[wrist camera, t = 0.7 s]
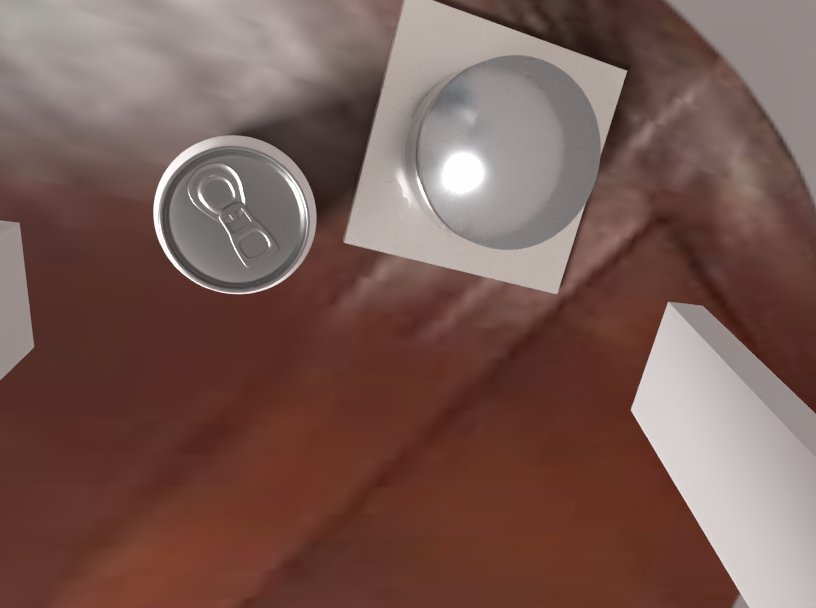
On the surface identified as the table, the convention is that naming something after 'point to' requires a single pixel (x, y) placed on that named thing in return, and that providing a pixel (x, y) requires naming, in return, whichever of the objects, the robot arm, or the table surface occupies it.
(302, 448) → the table surface
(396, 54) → the duct collar
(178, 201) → the can
